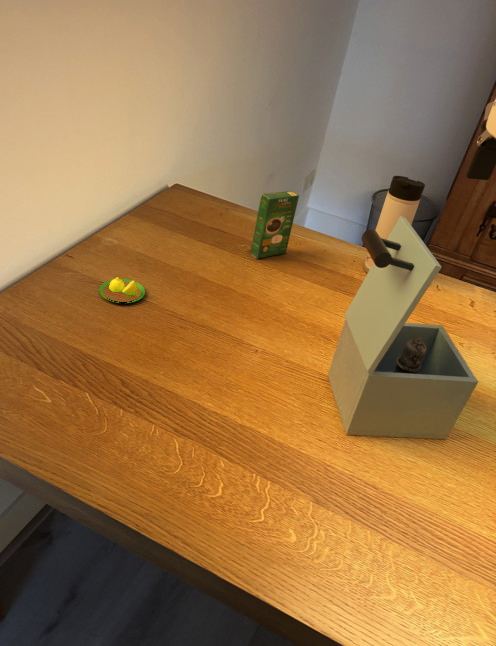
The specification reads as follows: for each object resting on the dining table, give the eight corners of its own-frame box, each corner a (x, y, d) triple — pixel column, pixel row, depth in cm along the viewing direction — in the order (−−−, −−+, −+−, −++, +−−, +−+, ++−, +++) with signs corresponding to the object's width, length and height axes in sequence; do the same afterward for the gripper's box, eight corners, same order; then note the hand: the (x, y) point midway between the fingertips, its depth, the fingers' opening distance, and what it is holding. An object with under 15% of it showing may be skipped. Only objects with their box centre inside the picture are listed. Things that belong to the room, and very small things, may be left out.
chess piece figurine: (369, 407, 80) (396, 341, 72) (375, 384, 84) (401, 319, 76) (410, 420, 78) (441, 355, 71) (413, 396, 83) (443, 332, 75)
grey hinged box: (416, 380, 87) (442, 325, 80) (446, 439, 77) (478, 381, 71) (327, 375, 86) (345, 318, 79) (345, 434, 76) (368, 375, 69)
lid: (405, 217, 69) (364, 204, 68) (442, 267, 59) (395, 253, 58) (349, 316, 79) (312, 306, 77) (372, 373, 69) (331, 363, 67)
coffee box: (279, 247, 118) (291, 188, 110) (287, 253, 116) (300, 194, 108) (249, 253, 114) (259, 193, 106) (257, 260, 113) (268, 198, 104)
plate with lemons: (150, 286, 100) (150, 273, 98) (137, 309, 94) (138, 295, 92) (107, 278, 100) (107, 265, 99) (92, 300, 94) (92, 286, 92)
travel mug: (358, 271, 114) (388, 176, 101) (369, 261, 118) (400, 169, 106) (386, 282, 111) (420, 187, 99) (397, 271, 116) (431, 178, 103)
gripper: (646, 57, 52) (555, 224, 63) (552, 29, 65) (490, 171, 76) (574, 47, 51) (494, 219, 62) (494, 21, 65) (440, 166, 75)
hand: (492, 192), depth 69 cm, fingers open, 9 cm apart
